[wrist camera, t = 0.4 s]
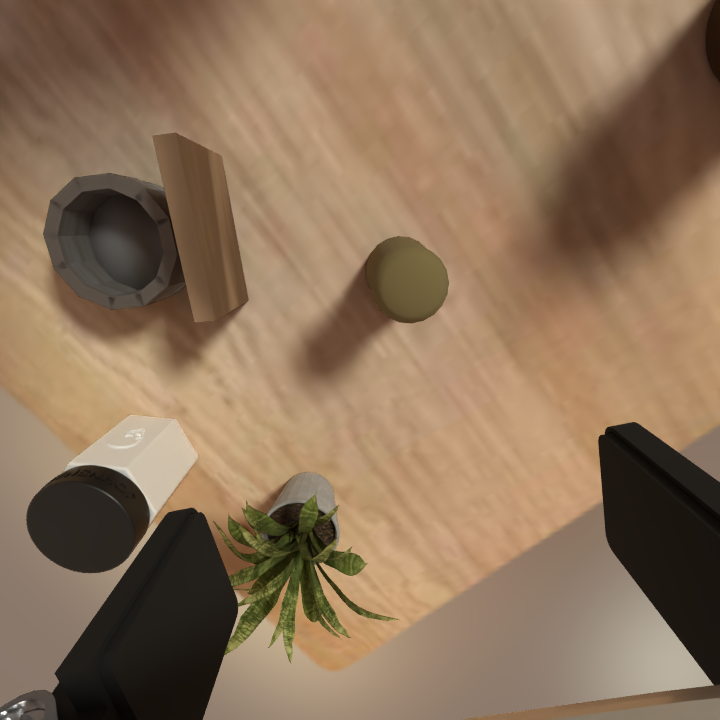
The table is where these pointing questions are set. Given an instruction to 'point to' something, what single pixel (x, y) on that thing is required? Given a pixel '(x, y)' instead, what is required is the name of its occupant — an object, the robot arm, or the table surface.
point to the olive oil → (714, 39)
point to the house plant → (292, 559)
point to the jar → (110, 494)
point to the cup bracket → (151, 234)
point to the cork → (406, 279)
